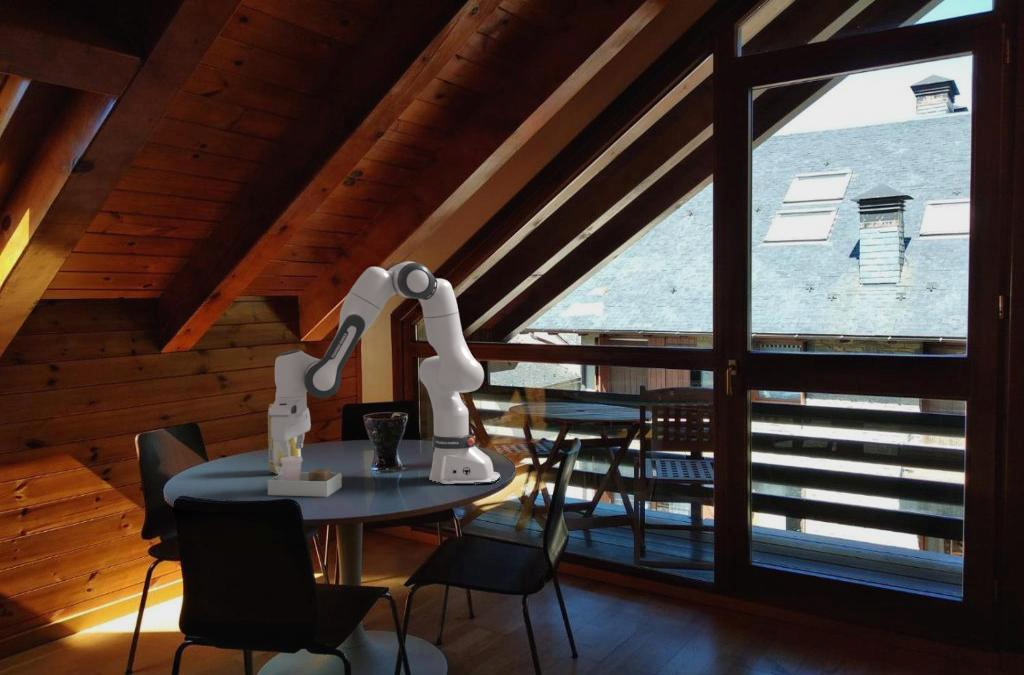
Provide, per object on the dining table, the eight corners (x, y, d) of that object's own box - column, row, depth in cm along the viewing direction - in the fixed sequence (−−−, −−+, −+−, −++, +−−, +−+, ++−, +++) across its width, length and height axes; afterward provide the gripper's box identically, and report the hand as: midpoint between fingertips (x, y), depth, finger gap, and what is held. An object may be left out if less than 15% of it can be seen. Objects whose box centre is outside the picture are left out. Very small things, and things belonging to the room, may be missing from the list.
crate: (341, 489, 247) (341, 473, 247) (327, 499, 235) (327, 482, 235) (284, 487, 250) (284, 471, 249) (267, 497, 238) (267, 480, 237)
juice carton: (276, 476, 266) (275, 402, 264) (266, 472, 272) (265, 400, 270) (303, 472, 271) (302, 400, 270) (293, 468, 278) (292, 398, 276)
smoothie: (280, 489, 244) (279, 442, 244) (302, 487, 247) (301, 441, 246) (281, 494, 238) (281, 446, 238) (304, 492, 241) (303, 444, 240)
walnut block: (331, 489, 244) (330, 469, 244) (325, 493, 239) (324, 473, 239) (315, 488, 245) (314, 469, 244) (308, 492, 240) (308, 472, 239)
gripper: (295, 400, 252) (297, 444, 253) (266, 410, 232) (268, 458, 233) (314, 400, 252) (316, 444, 252) (287, 410, 231) (289, 458, 232)
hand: (293, 451), depth 243 cm, fingers open, 8 cm apart
